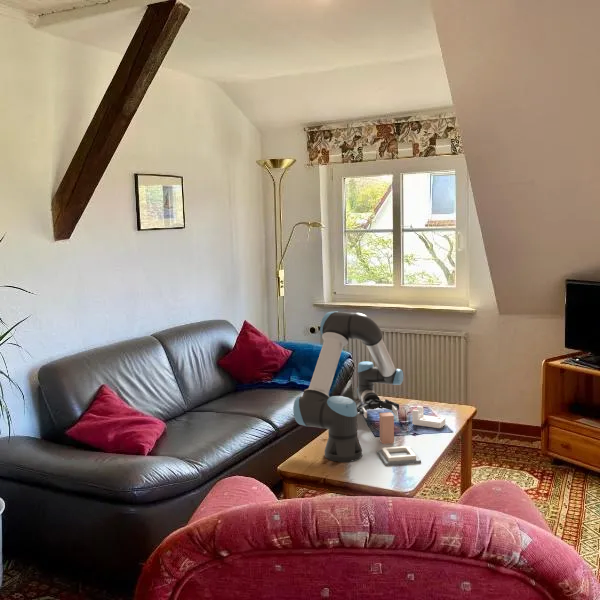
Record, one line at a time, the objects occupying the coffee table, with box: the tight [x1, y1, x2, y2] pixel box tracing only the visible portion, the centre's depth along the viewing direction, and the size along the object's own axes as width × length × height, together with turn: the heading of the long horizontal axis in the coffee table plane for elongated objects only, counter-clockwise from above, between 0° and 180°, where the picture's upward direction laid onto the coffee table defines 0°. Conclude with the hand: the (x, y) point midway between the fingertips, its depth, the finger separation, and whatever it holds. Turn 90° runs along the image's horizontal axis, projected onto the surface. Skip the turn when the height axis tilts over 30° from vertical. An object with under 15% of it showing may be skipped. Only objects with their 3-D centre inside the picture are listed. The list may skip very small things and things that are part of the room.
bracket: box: [411, 405, 446, 429], centre depth 302 cm, size 13×7×8 cm, turn 59°
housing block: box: [378, 411, 395, 445], centre depth 283 cm, size 5×5×12 cm
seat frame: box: [376, 445, 422, 466], centre depth 264 cm, size 14×14×2 cm
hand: (381, 413), depth 292 cm, fingers open, 13 cm apart
